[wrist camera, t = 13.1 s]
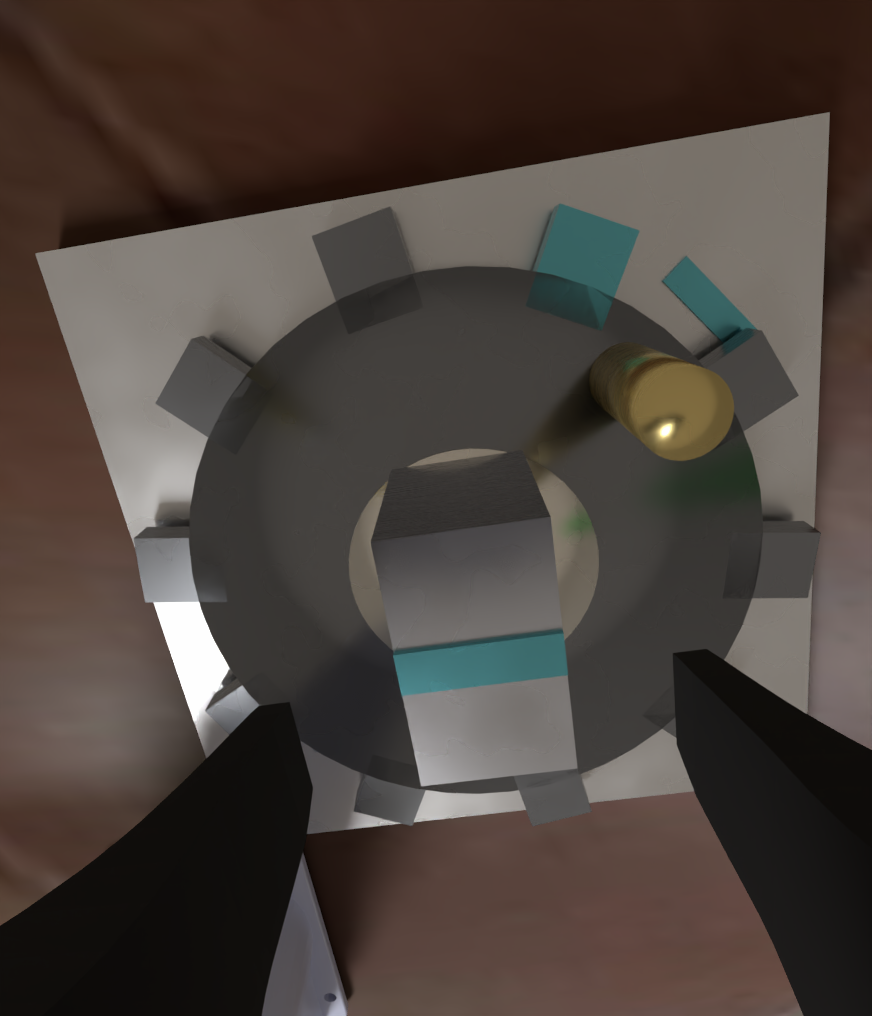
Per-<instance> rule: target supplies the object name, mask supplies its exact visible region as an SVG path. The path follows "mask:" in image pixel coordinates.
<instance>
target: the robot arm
mask: <svg viewBox="0 0 872 1016" xmlns="http://www.w3.org/2000/svg"><path fill="white" fill-rule="evenodd" d="M673 675H674V697H675V719H676V741H677V747H678V750H679V752H680V755H681V758H682V760H683V763H684V766H685V768H686V771H687V774H688V776H689V779H690V781H691V784H692V786H693V789H694V791H695V794H696V796H697V798H698V800H699V802H700V804H701V806H702V808H703V810H704V812H705V814H706V816H707V817H708V819H709V821H710V823H711V825H712V827H713V829H714V831H715V833H716V835H717V836H718V838H719V840H720V842H721V844H722V846H723V848H724V850H725V851H726V853H727V855H728V857H729V859H730V861H731V863H732V865H733V866H734V868H735V870H736V872H737V874H738V876H739V878H740V880H741V881H742V883H743V885H744V887H745V889H746V891H747V893H748V894H749V896H750V898H751V900H752V902H753V904H754V906H755V908H756V909H757V911H758V913H759V915H760V917H761V919H762V921H763V923H764V925H765V928H766V930H767V932H768V934H769V936H770V938H771V940H772V942H773V944H774V946H775V949H776V951H777V954H778V956H779V958H780V961H781V963H782V965H783V968H784V970H785V972H786V975H787V977H788V980H789V982H790V984H791V987H792V989H793V991H794V994H795V996H796V999H797V1001H798V1003H799V1006H800V1008H801V1011H802V1013H803V1015H804V1016H872V750H870V749H869V748H867V747H865V746H863V745H861V744H859V743H857V742H855V741H853V740H851V739H850V738H848V737H846V736H844V735H843V734H841V733H839V732H837V731H835V730H834V729H832V728H830V727H828V726H827V725H825V724H823V723H821V722H819V721H818V720H816V719H814V718H813V717H811V716H809V715H808V714H806V713H804V712H803V711H801V710H799V709H798V708H796V707H795V706H793V705H791V704H790V703H788V702H787V701H785V700H783V699H782V698H780V697H779V696H777V695H776V694H774V693H773V692H771V691H769V690H768V689H766V688H765V687H763V686H762V685H760V684H759V683H757V682H756V681H754V680H753V679H751V678H750V677H748V676H747V675H745V674H744V673H742V672H741V671H739V670H738V669H736V668H735V667H733V666H732V665H731V664H729V663H728V662H726V661H725V660H723V659H722V658H720V657H719V656H717V655H716V654H714V653H712V652H711V651H709V650H708V649H701V650H693V651H685V652H677V653H673ZM312 793H313V785H312V782H311V778H310V774H309V771H308V767H307V763H306V760H305V756H304V753H303V749H302V745H301V742H300V738H299V734H298V731H297V727H296V723H295V720H294V716H293V713H292V709H291V705H290V702H285V703H277V704H269V705H261V706H258V707H257V708H256V709H255V710H254V711H253V712H251V713H250V714H249V715H248V716H247V717H246V718H245V719H244V720H243V721H242V722H241V723H240V725H239V726H238V727H237V728H236V729H235V730H234V731H233V732H232V733H231V734H230V735H229V736H228V737H227V738H226V739H225V740H224V741H223V742H222V743H221V744H220V745H219V746H218V747H217V748H216V749H215V750H214V751H213V752H212V753H211V754H210V755H209V756H208V758H207V759H206V760H205V761H204V762H203V763H202V764H201V765H200V766H199V767H198V768H197V769H196V770H195V771H194V772H193V773H192V774H191V775H190V776H189V777H188V778H187V779H186V780H185V781H184V782H183V783H182V784H180V785H179V786H178V787H177V788H176V789H175V790H174V791H173V792H172V793H171V794H170V795H169V796H168V797H167V798H166V799H164V800H163V801H162V802H161V803H160V804H159V805H158V806H157V807H156V808H155V809H154V810H153V811H152V812H151V813H149V814H148V815H147V816H146V817H145V818H144V819H143V820H142V821H141V822H140V823H138V824H137V825H136V826H135V827H134V828H133V829H132V830H130V831H129V832H128V833H127V834H126V835H124V836H123V837H122V838H121V839H120V840H119V841H117V842H116V843H115V844H114V845H112V846H111V847H110V848H109V849H107V850H106V851H105V852H104V853H102V854H101V855H100V856H99V857H97V858H96V859H95V860H94V861H92V862H91V863H90V864H88V865H87V866H86V867H84V868H83V869H82V870H80V871H79V872H78V873H76V874H75V875H73V876H72V877H71V878H69V879H68V880H66V881H65V882H64V883H62V884H61V885H59V886H58V887H57V888H55V889H54V890H52V891H51V892H49V893H48V894H47V895H45V896H44V897H42V898H41V899H40V900H38V901H37V902H35V903H34V904H33V905H31V906H30V907H28V908H27V909H25V910H24V911H22V912H21V913H19V914H18V915H16V916H15V917H13V918H12V919H10V920H9V921H7V922H5V923H4V924H2V925H1V926H0V1016H347V1012H348V1002H347V999H346V996H345V992H344V989H343V985H342V982H341V979H340V975H339V972H338V968H337V965H336V962H335V958H334V955H333V952H332V948H331V945H330V941H329V938H328V935H327V931H326V928H325V925H324V921H323V918H322V914H321V911H320V908H319V904H318V901H317V897H316V894H315V891H314V887H313V884H312V881H311V877H310V874H309V870H308V867H307V864H306V860H305V857H304V854H303V850H304V846H305V842H306V836H307V830H308V823H309V817H310V809H311V801H312Z"/></svg>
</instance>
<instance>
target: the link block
mask: <svg viewBox="0 0 872 1016" xmlns="http://www.w3.org/2000/svg"><path fill="white" fill-rule="evenodd" d="M371 547H372V552H373V556H374V561H375V566H376V571H377V576H378V581H379V585H380V590H381V595H382V600H383V605H384V609H385V614H386V619H387V624H388V629H389V633H390V638H391V643H392V648H393V657H394V662H395V667H396V672H397V676H398V681H399V686H400V691H401V696H403V701H404V706H405V711H406V715H407V720H408V725H409V730H410V735H411V739H412V744H413V749H414V754H415V759H416V763H417V768H418V773H419V778H420V783H421V786H429V785H438V784H446V783H455V782H464V781H472V780H481V779H490V778H499V777H507V776H516V775H525V774H534V773H542V772H551V771H560V770H568V769H577V759H576V749H575V740H574V731H573V721H572V712H571V702H570V693H569V684H568V669H567V660H566V650H565V641H564V633H563V627H562V618H561V609H560V599H559V590H558V581H557V571H556V562H555V553H554V543H553V534H552V524H551V516H550V514H549V512H548V509H547V507H546V505H545V502H544V500H543V497H542V495H541V493H540V490H539V488H538V486H537V483H536V481H535V479H534V476H533V474H532V471H531V469H530V467H529V464H528V462H527V460H526V457H525V455H524V453H523V450H520V451H513V452H507V453H500V454H493V455H487V456H480V457H473V458H466V459H460V460H453V461H446V462H439V463H433V464H426V465H419V466H413V467H405V468H398V469H392V470H391V472H390V476H389V479H388V483H387V486H386V490H385V493H384V497H383V500H382V504H381V507H380V511H379V514H378V518H377V521H376V525H375V528H374V532H373V535H372V539H371Z"/></svg>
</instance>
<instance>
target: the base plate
mask: <svg viewBox="0 0 872 1016" xmlns="http://www.w3.org/2000/svg"><path fill="white" fill-rule="evenodd" d="M829 121H830V112H828V113H822V114H816V115H811V116H805V117H800V118H794V119H788V120H783V121H777V122H772V123H766V124H760V125H755V126H749V127H743V128H738V129H732V130H727V131H721V132H715V133H710V134H704V135H699V136H693V137H687V138H682V139H676V140H670V141H665V142H659V143H654V144H648V145H642V146H637V147H631V148H626V149H620V150H614V151H609V152H603V153H597V154H592V155H586V156H581V157H575V158H569V159H564V160H558V161H553V162H547V163H541V164H536V165H530V166H524V167H519V168H513V169H508V170H502V171H496V172H491V173H485V174H480V175H474V176H468V177H463V178H457V179H451V180H446V181H440V182H435V183H429V184H423V185H418V186H412V187H406V188H401V189H395V190H390V191H384V192H378V193H373V194H367V195H362V196H356V197H350V198H345V199H339V200H333V201H328V202H322V203H317V204H311V205H305V206H300V207H294V208H289V209H283V210H277V211H272V212H266V213H260V214H255V215H249V216H244V217H238V218H232V219H227V220H221V221H216V222H210V223H204V224H199V225H193V226H187V227H182V228H176V229H171V230H165V231H159V232H154V233H148V234H143V235H137V236H131V237H126V238H120V239H114V240H109V241H103V242H98V243H92V244H86V245H81V246H75V247H70V248H64V249H58V250H53V251H47V252H41V253H36V257H37V260H38V263H39V266H40V269H41V272H42V275H43V278H44V281H45V284H46V287H47V290H48V293H49V296H50V299H51V302H52V304H53V307H54V310H55V313H56V316H57V319H58V322H59V325H60V328H61V331H62V334H63V337H64V340H65V343H66V346H67V349H68V352H69V355H70V358H71V361H72V363H73V366H74V369H75V372H76V375H77V378H78V381H79V384H80V387H81V390H82V393H83V396H84V399H85V402H86V405H87V408H88V411H89V414H90V417H91V419H92V422H93V425H94V428H95V431H96V434H97V437H98V440H99V443H100V446H101V449H102V452H103V455H104V458H105V461H106V464H107V467H108V470H109V473H110V476H111V478H112V481H113V484H114V487H115V490H116V493H117V496H118V499H119V502H120V505H121V508H122V511H123V514H124V517H125V520H126V523H127V526H128V529H129V532H130V534H131V537H132V540H133V543H134V539H133V538H135V537H136V536H137V535H138V534H139V533H140V532H142V531H143V530H144V529H145V528H146V527H177V526H189V523H190V505H191V500H192V494H193V488H194V483H195V477H196V472H197V469H198V466H199V463H200V460H201V457H202V454H203V451H204V448H205V445H206V442H207V439H208V437H207V436H205V435H204V434H202V433H200V432H199V431H197V430H196V429H194V428H193V427H191V426H189V425H188V424H186V423H185V422H183V421H182V420H180V419H179V418H177V417H175V416H174V415H172V414H171V413H169V412H168V411H166V410H165V409H163V408H161V407H160V406H158V405H157V404H155V403H156V401H157V399H158V397H159V396H160V394H161V392H162V390H163V389H164V387H165V385H166V383H167V381H168V380H169V378H170V376H171V374H172V372H173V371H174V369H175V367H176V365H177V363H178V362H179V360H180V358H181V356H182V354H183V353H184V351H185V349H186V347H187V345H188V344H189V342H190V340H191V339H192V338H196V337H200V336H205V337H207V338H208V339H210V340H211V341H213V342H214V343H216V344H217V345H219V346H220V347H222V348H223V349H225V350H226V351H227V352H229V353H230V354H232V355H233V356H235V357H236V358H238V359H239V360H241V361H242V362H244V363H245V364H247V365H248V366H250V367H251V368H252V367H253V366H254V365H255V364H256V363H257V362H258V361H259V360H260V359H261V358H262V357H263V356H264V355H265V354H266V352H267V351H268V350H269V349H270V348H271V347H272V346H273V345H274V344H275V343H277V342H278V341H279V340H280V339H282V338H283V337H284V336H285V335H287V334H288V333H289V332H290V331H292V330H293V329H294V328H295V327H297V326H298V325H299V324H300V323H302V322H303V321H304V320H305V319H307V318H309V317H310V316H312V315H314V314H315V313H317V312H319V311H321V310H322V309H324V308H326V307H327V306H329V305H331V304H332V303H334V302H336V300H335V298H334V295H333V292H332V290H331V287H330V284H329V282H328V279H327V276H326V274H325V271H324V268H323V266H322V263H321V260H320V258H319V255H318V252H317V250H316V247H315V244H314V242H313V239H312V236H313V235H316V234H318V233H321V232H324V231H326V230H329V229H332V228H334V227H337V226H339V225H342V224H345V223H347V222H350V221H353V220H355V219H358V218H360V217H363V216H366V215H368V214H371V213H374V212H376V211H379V210H382V209H384V208H387V207H389V206H390V207H391V208H392V209H393V211H394V214H395V217H396V220H397V223H398V226H399V229H400V232H401V235H402V238H403V241H404V244H405V247H406V250H407V253H408V256H409V259H410V262H411V265H412V268H413V271H414V273H417V272H421V271H428V270H436V269H445V268H454V267H463V266H480V267H511V268H517V269H523V270H529V271H533V268H534V265H535V262H536V259H537V256H538V253H539V250H540V247H541V244H542V241H543V239H544V236H545V233H546V230H547V227H548V224H549V221H550V218H551V215H552V212H553V209H554V207H555V206H556V205H558V204H560V203H561V204H564V205H567V206H570V207H572V208H575V209H578V210H581V211H584V212H587V213H590V214H593V215H596V216H599V217H602V218H605V219H607V220H610V221H613V222H616V223H619V224H622V225H625V226H628V227H631V228H634V229H637V230H640V231H639V234H638V237H637V239H636V242H635V244H634V247H633V250H632V252H631V255H630V258H629V260H628V263H627V265H626V268H625V271H624V273H623V276H622V278H621V281H620V284H619V286H618V289H617V292H616V294H615V297H614V298H616V299H618V300H620V301H622V302H624V303H626V304H628V305H631V306H632V307H634V308H635V309H637V310H638V311H639V312H641V313H642V314H644V315H645V316H647V317H648V318H650V319H651V320H653V321H654V322H656V323H657V324H659V325H660V326H662V327H663V328H665V329H666V330H667V331H668V332H669V333H670V334H671V335H672V336H673V337H674V338H676V339H677V340H678V341H679V342H680V343H681V344H682V345H683V346H684V347H685V348H686V349H688V350H689V351H690V352H691V353H692V354H693V355H694V356H695V357H696V358H697V360H698V361H699V360H700V359H702V358H703V357H704V356H706V355H707V354H709V353H710V352H712V351H713V350H715V349H716V348H718V347H719V346H720V345H722V344H723V343H725V342H726V341H728V340H729V339H731V338H732V337H734V336H735V335H736V334H738V333H739V332H741V331H742V330H744V329H745V328H751V329H756V330H762V331H763V333H764V335H765V337H766V338H767V340H768V342H769V344H770V345H771V347H772V349H773V351H774V353H775V354H776V356H777V358H778V360H779V361H780V363H781V365H782V367H783V368H784V370H785V372H786V374H787V375H788V377H789V379H790V381H791V382H792V384H793V386H794V388H795V389H796V391H797V393H798V395H799V396H797V397H796V398H794V399H793V400H791V401H790V402H788V403H787V404H785V405H784V406H782V407H781V408H779V409H777V410H776V411H774V412H773V413H771V414H770V415H768V416H767V417H765V418H764V419H762V420H761V421H759V422H757V423H756V424H754V425H753V426H751V427H750V428H748V429H747V430H745V431H744V435H745V437H746V440H747V442H748V445H749V447H750V450H751V452H752V455H753V460H754V464H755V468H756V473H757V477H758V481H759V485H760V491H761V503H762V515H763V521H805V522H806V523H808V524H809V525H811V526H812V527H813V528H814V522H815V495H816V468H817V442H818V415H819V388H820V361H821V335H822V308H823V281H824V255H825V228H826V201H827V174H828V148H829ZM134 546H135V544H134ZM811 602H812V580H811V585H810V590H809V595H808V598H752V600H751V603H750V606H749V609H748V611H747V614H746V617H745V620H744V622H743V625H742V627H741V629H740V631H739V633H738V635H737V637H736V639H735V641H734V643H733V645H732V647H731V649H730V650H729V652H728V654H727V656H726V658H725V659H724V660H725V661H726V662H728V663H729V664H731V665H732V666H733V667H735V668H736V669H738V670H739V671H741V672H742V673H744V674H745V675H747V676H748V677H750V678H751V679H753V680H754V681H756V682H757V683H759V684H760V685H762V686H763V687H765V688H766V689H768V690H769V691H771V692H773V693H774V694H776V695H777V696H779V697H780V698H782V699H783V700H785V701H787V702H788V703H790V704H791V705H793V706H795V707H796V708H798V709H799V710H801V711H803V712H804V713H806V714H807V709H808V682H809V656H810V629H811ZM154 605H155V608H156V611H157V614H158V617H159V620H160V623H161V626H162V629H163V632H164V635H165V638H166V641H167V644H168V647H169V650H170V652H171V655H172V658H173V661H174V664H175V667H176V670H177V673H178V676H179V679H180V682H181V685H182V688H183V691H184V694H185V697H186V700H187V703H188V706H189V708H190V711H191V714H192V717H193V720H194V723H195V726H196V729H197V732H198V735H199V738H200V741H201V744H202V747H203V750H204V753H205V756H206V759H207V758H208V756H209V755H210V754H211V753H212V752H213V751H214V750H215V749H216V748H217V747H218V746H219V745H220V744H221V743H222V742H223V741H224V740H225V739H226V738H227V737H228V736H229V734H228V733H227V732H226V731H225V730H224V729H223V728H222V727H221V726H220V725H219V724H218V723H217V722H215V721H214V720H213V719H212V718H211V717H210V716H209V715H208V714H207V713H206V712H205V710H206V708H207V706H208V704H209V703H210V701H211V699H212V697H213V695H214V694H215V693H216V692H217V691H219V690H220V689H222V688H223V687H225V686H226V685H228V684H229V683H230V682H232V681H233V680H235V679H236V676H235V675H234V674H233V672H232V671H231V670H230V668H229V667H228V665H227V663H226V661H225V660H224V658H223V656H222V654H221V653H220V651H219V649H218V647H217V646H216V644H215V642H214V640H213V638H212V635H211V633H210V631H209V628H208V626H207V623H206V621H205V618H204V616H203V613H202V611H201V608H200V604H199V602H154ZM300 742H301V745H302V749H303V753H304V756H305V760H306V763H307V767H308V771H309V774H310V778H311V782H312V785H313V793H312V801H311V809H310V817H309V823H308V830H307V834H313V833H322V832H331V831H340V830H349V829H358V828H367V827H376V826H385V825H394V824H402V823H398V822H394V821H390V820H386V819H382V818H378V817H374V816H370V815H366V814H362V813H358V812H354V806H355V800H356V794H357V790H358V787H359V784H360V781H361V778H362V775H363V773H360V772H357V771H355V770H352V769H350V768H348V767H346V766H344V765H342V764H340V763H338V762H336V761H334V760H332V759H330V758H328V757H326V756H324V755H322V754H320V753H319V752H317V751H316V750H314V749H313V748H311V747H309V746H308V745H306V744H305V743H303V742H302V741H300ZM581 777H582V780H583V783H584V786H585V789H586V792H587V796H588V800H589V803H591V802H600V801H609V800H618V799H627V798H636V797H645V796H654V795H663V794H672V793H681V792H690V791H694V789H693V786H692V784H691V781H690V779H689V776H688V774H687V771H686V768H685V766H684V763H683V760H682V758H681V755H680V752H679V750H678V747H677V741H676V737H674V736H672V735H671V734H669V733H668V732H666V731H665V730H663V729H661V730H660V731H658V732H657V733H656V734H654V735H653V736H651V737H650V738H648V739H647V740H645V741H644V742H643V743H641V744H640V745H638V746H637V747H635V748H634V749H632V750H630V751H629V752H627V753H625V754H623V755H621V756H619V757H617V758H616V759H614V760H612V761H610V762H608V763H606V764H604V765H602V766H600V767H597V768H595V769H592V770H590V771H587V772H585V773H582V774H581ZM519 810H526V808H525V805H524V803H523V800H522V797H521V795H520V792H519V790H517V791H511V792H498V793H484V794H467V793H444V792H436V791H429V790H426V791H425V793H424V796H423V799H422V801H421V804H420V806H419V809H418V812H417V814H416V817H415V820H414V822H421V821H430V820H439V819H448V818H457V817H466V816H475V815H484V814H493V813H502V812H510V811H519Z"/></svg>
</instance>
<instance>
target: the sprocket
mask: <svg viewBox="0 0 872 1016" xmlns="http://www.w3.org/2000/svg"><path fill="white" fill-rule="evenodd" d="M639 231H640V230H637V229H634V228H631V227H628V226H625V225H622V224H619V223H616V222H613V221H610V220H607V219H605V218H602V217H599V216H596V215H593V214H590V213H587V212H584V211H581V210H578V209H575V208H572V207H570V206H567V205H564V204H561V203H560V204H558V205H556V206H555V207H554V209H553V212H552V215H551V218H550V221H549V224H548V227H547V230H546V233H545V236H544V239H543V241H542V244H541V247H540V250H539V253H538V256H537V259H536V262H535V265H534V268H533V271H529V270H523V269H517V268H511V267H480V266H463V267H454V268H445V269H436V270H428V271H421V272H417V273H414V271H413V268H412V265H411V262H410V259H409V256H408V253H407V250H406V247H405V244H404V241H403V238H402V235H401V232H400V229H399V226H398V223H397V220H396V217H395V214H394V211H393V209H392V208H391V207H390V206H389V207H387V208H384V209H382V210H379V211H376V212H374V213H371V214H368V215H366V216H363V217H360V218H358V219H355V220H353V221H350V222H347V223H345V224H342V225H339V226H337V227H334V228H332V229H329V230H326V231H324V232H321V233H318V234H316V235H313V236H312V239H313V242H314V244H315V247H316V250H317V252H318V255H319V258H320V260H321V263H322V266H323V268H324V271H325V274H326V276H327V279H328V282H329V284H330V287H331V290H332V292H333V295H334V298H335V300H336V302H334V303H332V304H331V305H329V306H327V307H326V308H324V309H322V310H321V311H319V312H317V313H315V314H314V315H312V316H310V317H309V318H307V319H305V320H304V321H303V322H302V323H300V324H299V325H298V326H297V327H295V328H294V329H293V330H292V331H290V332H289V333H288V334H287V335H285V336H284V337H283V338H282V339H280V340H279V341H278V342H277V343H275V344H274V345H273V346H272V347H271V348H270V349H269V350H268V351H267V352H266V354H265V355H264V356H263V357H262V358H261V359H260V360H259V361H258V362H257V363H256V364H255V365H254V366H253V367H252V368H251V367H250V366H248V365H247V364H245V363H244V362H242V361H241V360H239V359H238V358H236V357H235V356H233V355H232V354H230V353H229V352H227V351H226V350H225V349H223V348H222V347H220V346H219V345H217V344H216V343H214V342H213V341H211V340H210V339H208V338H207V337H205V336H200V337H196V338H192V339H191V340H190V342H189V344H188V345H187V347H186V349H185V351H184V353H183V354H182V356H181V358H180V360H179V362H178V363H177V365H176V367H175V369H174V371H173V372H172V374H171V376H170V378H169V380H168V381H167V383H166V385H165V387H164V389H163V390H162V392H161V394H160V396H159V397H158V399H157V401H156V403H155V404H157V405H158V406H160V407H161V408H163V409H165V410H166V411H168V412H169V413H171V414H172V415H174V416H175V417H177V418H179V419H180V420H182V421H183V422H185V423H186V424H188V425H189V426H191V427H193V428H194V429H196V430H197V431H199V432H200V433H202V434H204V435H205V436H207V437H208V439H207V442H206V445H205V448H204V451H203V454H202V457H201V460H200V463H199V466H198V469H197V472H196V477H195V483H194V488H193V494H192V500H191V505H190V523H189V526H177V527H146V528H145V529H144V530H143V531H142V532H140V533H139V534H138V535H137V536H136V537H135V538H133V539H134V544H135V550H136V555H137V561H138V566H139V571H140V577H141V582H142V588H143V593H144V598H145V602H199V604H200V608H201V611H202V613H203V616H204V618H205V621H206V623H207V626H208V628H209V631H210V633H211V635H212V638H213V640H214V642H215V644H216V646H217V647H218V649H219V651H220V653H221V654H222V656H223V658H224V660H225V661H226V663H227V665H228V667H229V668H230V670H231V671H232V672H233V674H234V675H235V676H236V679H235V680H233V681H232V682H230V683H229V684H228V685H226V686H225V687H223V688H222V689H220V690H219V691H217V692H216V693H215V694H214V695H213V697H212V699H211V701H210V703H209V704H208V706H207V708H206V710H205V712H206V713H207V714H208V715H209V716H210V717H211V718H212V719H213V720H214V721H215V722H217V723H218V724H219V725H220V726H221V727H222V728H223V729H224V730H225V731H226V732H227V733H228V734H229V735H230V734H231V733H232V732H233V731H234V730H235V729H236V728H237V727H238V726H239V725H240V723H241V722H242V721H243V720H244V719H245V718H246V717H247V716H248V715H249V714H250V713H251V712H253V711H254V710H255V709H256V708H257V707H258V706H261V705H269V704H277V703H285V702H290V705H291V709H292V713H293V716H294V720H295V723H296V727H297V731H298V734H299V738H300V741H302V742H303V743H305V744H306V745H308V746H309V747H311V748H313V749H314V750H316V751H317V752H319V753H320V754H322V755H324V756H326V757H328V758H330V759H332V760H334V761H336V762H338V763H340V764H342V765H344V766H346V767H348V768H350V769H352V770H355V771H357V772H360V773H363V775H362V778H361V781H360V784H359V787H358V790H357V794H356V800H355V806H354V812H358V813H362V814H366V815H370V816H374V817H378V818H382V819H386V820H390V821H394V822H398V823H402V824H406V825H410V826H412V825H413V822H414V820H415V817H416V814H417V812H418V809H419V806H420V804H421V801H422V799H423V796H424V793H425V791H426V790H429V791H436V792H444V793H467V794H484V793H498V792H511V791H517V790H519V792H520V795H521V797H522V800H523V803H524V805H525V808H526V811H527V813H528V816H529V819H530V821H531V824H532V826H536V825H540V824H544V823H548V822H552V821H556V820H560V819H564V818H568V817H572V816H576V815H580V814H584V813H588V812H592V811H591V807H590V804H589V800H588V796H587V792H586V789H585V786H584V783H583V780H582V777H581V774H582V773H585V772H587V771H590V770H592V769H595V768H597V767H600V766H602V765H604V764H606V763H608V762H610V761H612V760H614V759H616V758H617V757H619V756H621V755H623V754H625V753H627V752H629V751H630V750H632V749H634V748H635V747H637V746H638V745H640V744H641V743H643V742H644V741H645V740H647V739H648V738H650V737H651V736H653V735H654V734H656V733H657V732H658V731H660V730H661V729H663V730H665V731H666V732H668V733H669V734H671V735H672V736H674V737H676V719H675V697H674V675H673V653H677V652H685V651H693V650H701V649H708V650H709V651H711V652H712V653H714V654H716V655H717V656H719V657H720V658H722V659H723V660H724V659H725V658H726V656H727V654H728V652H729V650H730V649H731V647H732V645H733V643H734V641H735V639H736V637H737V635H738V633H739V631H740V629H741V627H742V625H743V622H744V620H745V617H746V614H747V611H748V609H749V606H750V603H751V600H752V598H808V595H809V590H810V585H811V580H812V575H813V570H814V564H815V559H816V554H817V549H818V544H819V539H820V534H821V532H819V531H818V530H816V529H815V528H813V527H812V526H811V525H809V524H808V523H806V522H805V521H763V515H762V503H761V491H760V485H759V481H758V477H757V473H756V468H755V464H754V460H753V455H752V452H751V450H750V447H749V445H748V442H747V440H746V437H745V435H744V431H745V430H747V429H748V428H750V427H751V426H753V425H754V424H756V423H757V422H759V421H761V420H762V419H764V418H765V417H767V416H768V415H770V414H771V413H773V412H774V411H776V410H777V409H779V408H781V407H782V406H784V405H785V404H787V403H788V402H790V401H791V400H793V399H794V398H796V397H797V396H799V395H798V393H797V391H796V389H795V388H794V386H793V384H792V382H791V381H790V379H789V377H788V375H787V374H786V372H785V370H784V368H783V367H782V365H781V363H780V361H779V360H778V358H777V356H776V354H775V353H774V351H773V349H772V347H771V345H770V344H769V342H768V340H767V338H766V337H765V335H764V333H763V331H762V330H756V329H751V328H745V329H744V330H742V331H741V332H739V333H738V334H736V335H735V336H734V337H732V338H731V339H729V340H728V341H726V342H725V343H723V344H722V345H720V346H719V347H718V348H716V349H715V350H713V351H712V352H710V353H709V354H707V355H706V356H704V357H703V358H702V359H700V360H699V361H698V360H697V358H696V357H695V356H694V355H693V354H692V353H691V352H690V351H689V350H688V349H686V348H685V347H684V346H683V345H682V344H681V343H680V342H679V341H678V340H677V339H676V338H674V337H673V336H672V335H671V334H670V333H669V332H668V331H667V330H666V329H665V328H663V327H662V326H660V325H659V324H657V323H656V322H654V321H653V320H651V319H650V318H648V317H647V316H645V315H644V314H642V313H641V312H639V311H638V310H637V309H635V308H634V307H632V306H631V305H628V304H626V303H624V302H622V301H620V300H618V299H616V298H614V297H615V294H616V292H617V289H618V286H619V284H620V281H621V278H622V276H623V273H624V271H625V268H626V265H627V263H628V260H629V258H630V255H631V252H632V250H633V247H634V244H635V242H636V239H637V237H638V234H639ZM520 450H523V453H524V455H525V457H526V460H527V462H528V464H529V467H530V469H531V471H532V474H533V476H534V479H535V481H536V483H537V486H538V488H539V490H540V493H541V495H542V497H543V500H544V502H545V505H546V507H547V509H548V512H549V514H550V516H551V524H552V534H553V543H554V553H555V562H556V571H557V581H558V590H559V599H560V609H561V618H562V627H563V633H564V641H565V650H566V660H567V669H568V684H569V693H570V702H571V712H572V721H573V731H574V740H575V749H576V759H577V769H568V770H560V771H551V772H542V773H534V774H525V775H516V776H507V777H499V778H490V779H481V780H472V781H464V782H455V783H446V784H438V785H429V786H421V783H420V778H419V773H418V768H417V763H416V759H415V754H414V749H413V744H412V739H411V735H410V730H409V725H408V720H407V715H406V711H405V706H404V701H403V696H401V691H400V686H399V681H398V676H397V672H396V667H395V662H394V657H393V648H392V643H391V638H390V633H389V629H388V624H387V619H386V614H385V609H384V605H383V600H382V595H381V590H380V585H379V581H378V576H377V571H376V566H375V561H374V556H373V552H372V547H371V539H372V535H373V532H374V528H375V525H376V521H377V518H378V514H379V511H380V507H381V504H382V500H383V497H384V493H385V490H386V486H387V483H388V479H389V476H390V472H391V470H392V469H398V468H405V467H413V466H419V465H426V464H433V463H439V462H446V461H453V460H460V459H466V458H473V457H480V456H487V455H493V454H500V453H507V452H513V451H520Z"/></svg>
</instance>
